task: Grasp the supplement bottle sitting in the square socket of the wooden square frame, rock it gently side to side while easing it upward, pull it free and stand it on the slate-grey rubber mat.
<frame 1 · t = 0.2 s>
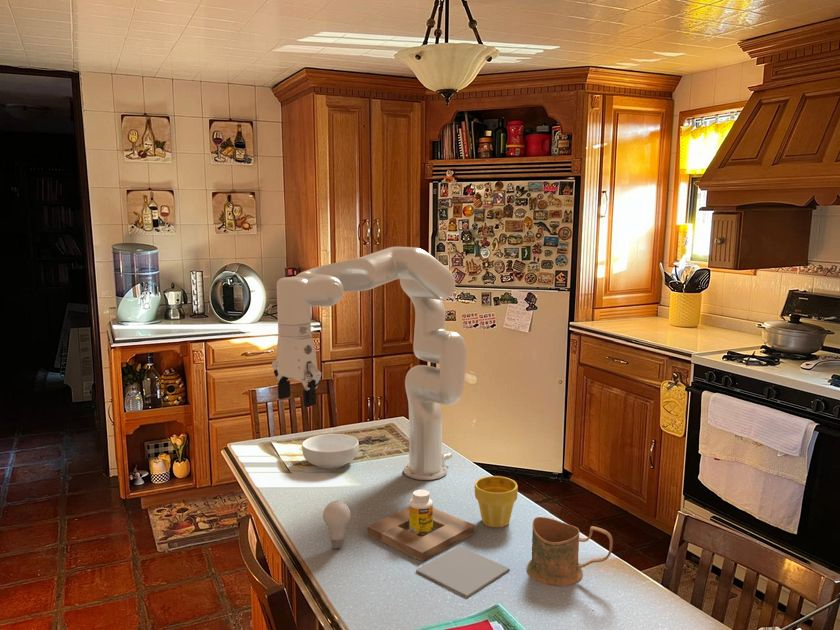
hand: (296, 401, 160), 31 cm above the table, tool pointing down, fingers open, 9 cm apart
supplement bottle: (421, 534, 160), resting in wooden square frame
mug: (568, 576, 141), on the table
cereal bowl: (331, 465, 203), on the table
plant pot: (495, 522, 165), on the table
lightbulb: (337, 548, 153), on the table
wooden square frame: (421, 533, 160), on the table
grey mat: (462, 571, 143), on the table
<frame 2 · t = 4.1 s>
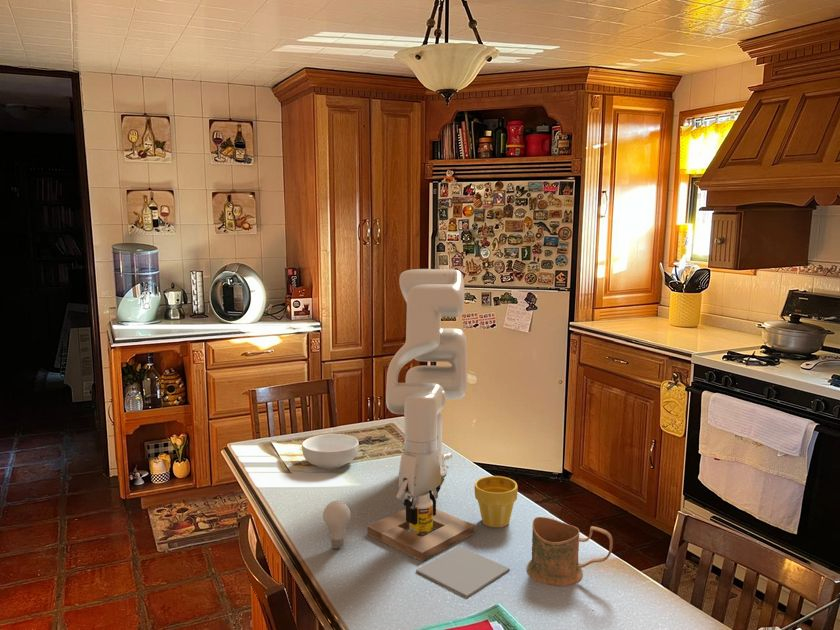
hand: (421, 517, 159), 4 cm above the table, tool pointing down, fingers closed on supplement bottle, 5 cm apart
supplement bottle: (421, 534, 160), resting in wooden square frame, touching gripper
everything else where it was.
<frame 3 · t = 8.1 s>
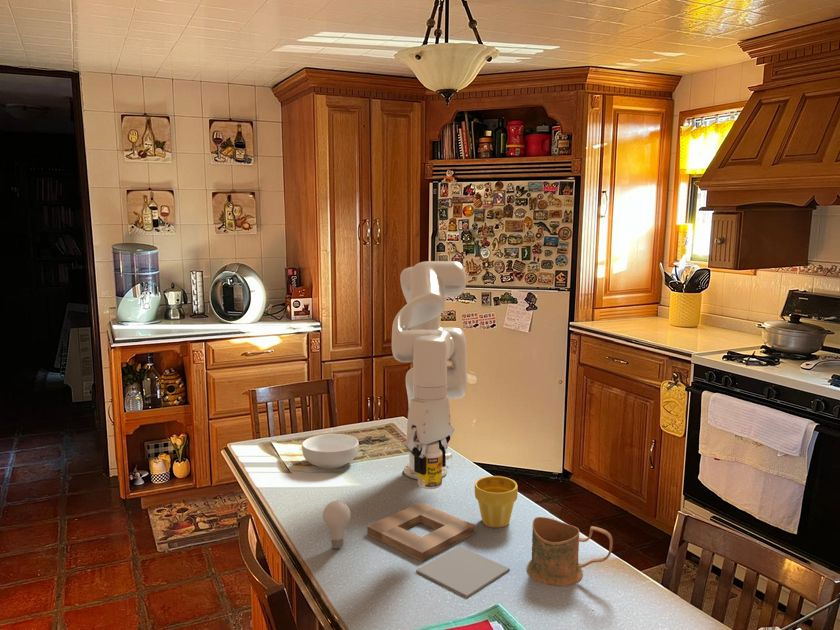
hand: (430, 468, 153), 18 cm above the table, tool pointing down, fingers closed on supplement bottle, 5 cm apart
supplement bottle: (430, 486, 153), point 14 cm above the table, touching gripper
everything else where it was.
when the fingers open (5 cm above the table, at t = 12.0 s): supplement bottle stays where it is, resting on grey mat.
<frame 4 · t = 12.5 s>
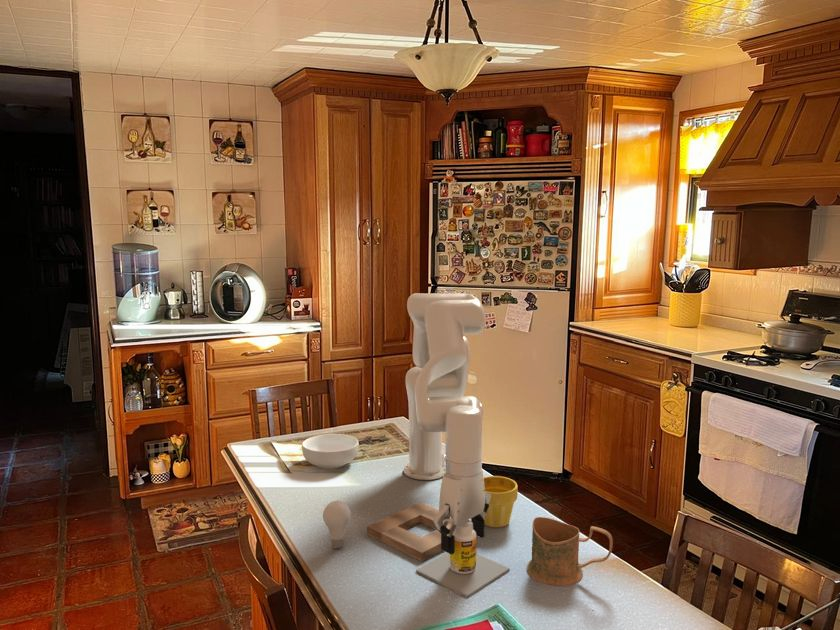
hand: (463, 543, 142), 6 cm above the table, tool pointing down, fingers open, 9 cm apart
supplement bottle: (462, 569, 143), resting on grey mat
everything else where it was.
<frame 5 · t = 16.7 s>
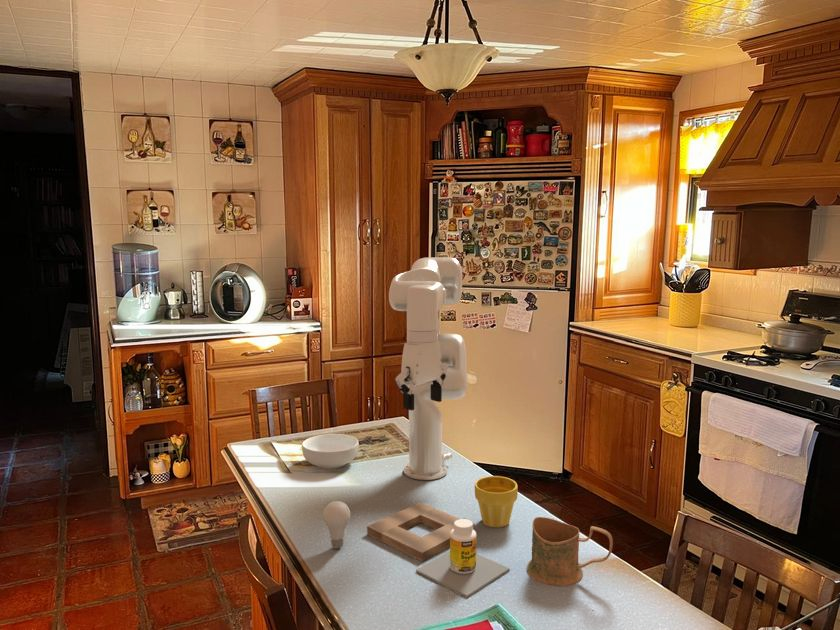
hand: (422, 404, 166), 28 cm above the table, tool pointing down, fingers open, 9 cm apart
nothing on the table moved.
at the end: supplement bottle inside the target area on the grey mat (0.3 cm from its centre), point 0.3 cm above the grey mat's base; supplement bottle tilted 0°; the gripper is holding nothing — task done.
